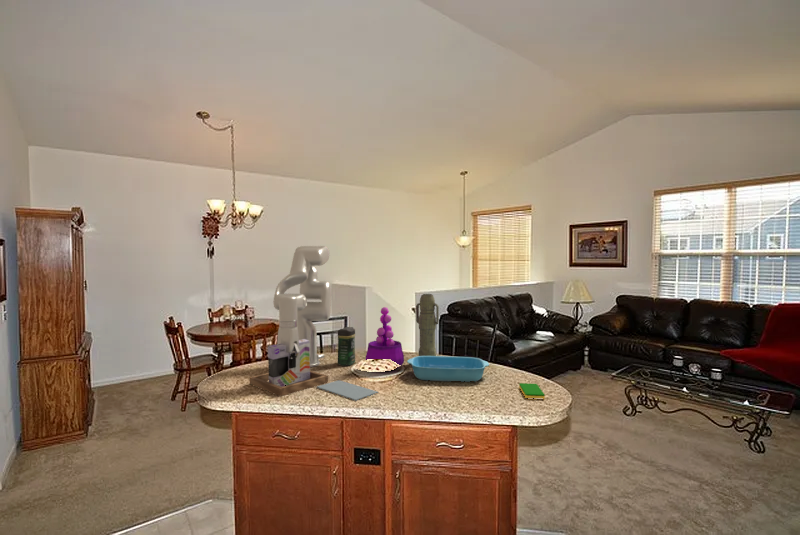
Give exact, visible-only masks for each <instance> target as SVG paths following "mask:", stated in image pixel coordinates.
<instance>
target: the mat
mask: <svg viewBox="0 0 800 535" xmlns="http://www.w3.org/2000/svg"><path fill="white" fill-rule="evenodd" d="M318 388H319V389H318ZM316 389H318V390H321V389H322V391H324V390H325V392H327V391H329V392H328V393H330V392H332V393H331V394H333V393H335V394H334V395H336V394H338V395H337V396H339V395H341V396H340V397H342V396H344V397H343V398H345V397H346V398H345V399H348V398H350V399H349V400H351V399H352V401H354V400H355V402H358V401H360V400H359V399H361V400H363V399H362V398H364V397H366V398H368V397H367V396H369V397H372V396H374V395H373V394H375V393H378V394H379V391H377V390H373V389H370V388H366V387H363V386H361V385H357V384H353V383H349V382H346V381H344V380H339V379H337V380H335V381H331V382H328V383H325V384H322V385H318V386H316ZM371 395H372V396H371ZM375 395H376V394H375ZM364 399H365V398H364ZM357 400H358V401H357Z"/></svg>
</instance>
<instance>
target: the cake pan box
mask: <svg viewBox="0 0 800 535" xmlns="http://www.w3.org/2000/svg"><path fill="white" fill-rule="evenodd" d="M293 351H294V350H293ZM299 351H300V353H299V354H298V355H297V358H296V367H295V368H291V369H290V368H289V359H290V356H289V353H288V352H286V345H284V344H272V345H268V346H267V358H268V361H267V362H268V364H267V365H268V367H267V368H268V373H269V381H268V382H269V383H272V384H275V385H278V386H280V387H284V386H285V385H286V386H287V385H291V384H295V383H298V382H302V381H306V380H310V371H311V367H310V344H309V340H306V339H302V340H299ZM292 355H293V353H292Z"/></svg>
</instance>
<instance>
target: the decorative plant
mask: <svg viewBox="0 0 800 535" xmlns="http://www.w3.org/2000/svg"><path fill="white" fill-rule="evenodd" d="M389 312H390V310H389V308H388V307H385V306H384V307H381V309H380V313H381V316H380V318H379V321H380V323H381V324H382V327H379V328H378V329H377V331H376V335H377V337H376V338H375V340H372V341H370V342H368V344H367V351H366V355H365V360H367V359H391V360H392V361H394V362H396V363H397V364H399V365H401V366H402V365H403V364H404V363H405V355H404V351H403V347H402V342H400V341H399V340H394V339H393V337H394V335H395V334H394V331H393V329H392V326H391V325H389V323H391V321H392V317H391V315H389Z"/></svg>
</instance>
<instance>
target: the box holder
mask: <svg viewBox="0 0 800 535" xmlns="http://www.w3.org/2000/svg"><path fill="white" fill-rule="evenodd" d="M268 380H269V372H267V373H262V374H257V375H254V376H250V377H249V385H250V384H252V385H251V386H253V385H254V386H253V387H255V386H257V387H256V388H258V387H259V388H258V389H260V388H262V389H261V390H263V389H264V390H263V391H265V390H267V391H266V392H268V391H269V392H268V393H271V394H273V393H274V394H273V395H276V396H278V397H284V396H287V395H291V394H293V393H297V391H298V392H301V391H304V389H305V390H307V388H308V389H311V388H315V387H317V385H318V386H320V385H321V384H322V385H324V383H325V384H327V382H328V383H329V375H328V374H324V373H320V372H316V371H314V370H310V379H307V380H303V381H300V382H296V383H293V384H289V385H286V386H282V387H280V386H278V385H275V384H272V383H269V381H268ZM314 386H315V387H314ZM300 390H301V391H300Z"/></svg>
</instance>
